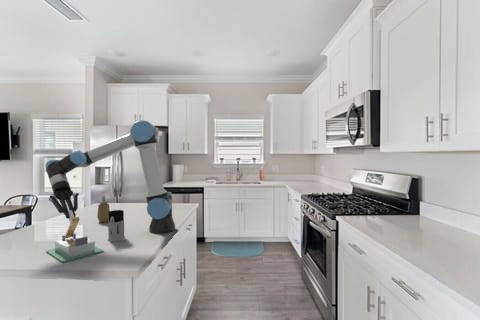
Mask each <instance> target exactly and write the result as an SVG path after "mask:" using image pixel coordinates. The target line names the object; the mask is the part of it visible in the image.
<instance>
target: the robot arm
mask: <svg viewBox="0 0 480 320" xmlns="http://www.w3.org/2000/svg"><path fill="white" fill-rule="evenodd" d="M157 140H158V139H157V129H156V127H155V126H154V125H153V124H152V123H151V122H149V121H147V120H142V119H141V120H137V121H135V122H133V124H132V126H131V127H130V131H129V133H128V134H126V135H123V136H120V137H119V138H116V139H114V140H111V141H109V142H107V143H104V144H101V145H99V146H96V147H94V148H92V149H89V150H87V151H85V152H83V151H81V150H79V149H76V150H75V151H72V152H70V153H69V154H68V155H66V156H64V157H63V158H61V159H57V158H56V159H50V160H47V162H45V171H46V174H47V176H48V179H49V183H50V187H51V190H52V193H53V194H52V195H49V198H48V201H50V202H51V203H52V204H53V205H54V207H55V209H56V210H57V212H58V213H59V214H63V215H64V216H65V219H68V222H69V224H70V223H71V221H72V220H71V218H73V217H77V216H76V212H78V211H77V210H78V208H79V203H78V201H79V200H78V197H79V195H80V194H79V193H78V192H76V193H74V190H72V188H71V185H70V182H69V180H68V177H67V174H68V173H70V172H71V171H73V170H74V169H77V168H87V167H89V166H90V165H92V164H95V163H97V162H100V161H101V160H102V161H103V159H107V158H109V157H111V156H113V155H116V154H119V153H121V152H123V151H125V150H128V149H130V148H133V147H135V148H136V149H137V150H138V152H139V157H140V162H141V167H142V171H143V175H144V179H145V180H144V181H145V185H146V189H147V193H146V194H145V199H146V204H147V206H146V211H147V214H148V215H149V217H151V221H150V225H149V228H148V229H149V230H148V231H149V232H150V233H151V234H166V233H170V232H174V231H175V230H176V224H175V221H174V219H173V193H172V192H171V191H168V190H166V189H165V188H164V184H163V180H162V179H163V177H162V174H161V170H160V165H159V160H158V156H157V155H158V154H157V151H156V146H157V145H158V142H157ZM71 198H72V199H73V203H72V199H71Z"/></svg>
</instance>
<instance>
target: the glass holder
mask: <svg viewBox="0 0 480 320" xmlns="http://www.w3.org/2000/svg"><path fill="white" fill-rule="evenodd" d="M108 215H109V220H108V222H107V223H108V225H107V228H108V233H107V234H108V237H107V241H108V242H119V241H124V240H126V237H125V219H124V217H125V216H124V215H125V212H124V210H121V209H117V210H116V209H114V210H110V211H109V212H108Z"/></svg>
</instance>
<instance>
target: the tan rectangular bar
mask: <svg viewBox="0 0 480 320" xmlns="http://www.w3.org/2000/svg"><path fill="white" fill-rule="evenodd" d="M71 220H72V221H71V223H70V222H69V226H68V228H67V231H66V233H65V234H64V235H65V239H66V238H71V237H73V234H74V233H75V231H76V229H77V226H78V224H79V221H80V217H79V216H75V217H73V218H71Z"/></svg>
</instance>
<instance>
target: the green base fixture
mask: <svg viewBox="0 0 480 320" xmlns="http://www.w3.org/2000/svg"><path fill="white" fill-rule="evenodd" d="M65 235H66V234H64V235H61V239H57V240H56V239H55V240H54V248H51V249H47V250H45V252H46V253H47V254H49V255H50V256H51V255H52V256H51V257H53V258H54V259H56V260H57V261H59V262H61V263H62V264H64V263H68V262H71V261H72V262H73V261H75V260H80V259H83V258H87V257H90V256H94V255H98V254H102V253H105V250H103V249H101V248H99V247H97V246H95V245H96V242H95V241H93V240H92V239H89V238H88V236H83V235H77V233H75V232H74V234H73V237H71V238H65Z"/></svg>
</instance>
